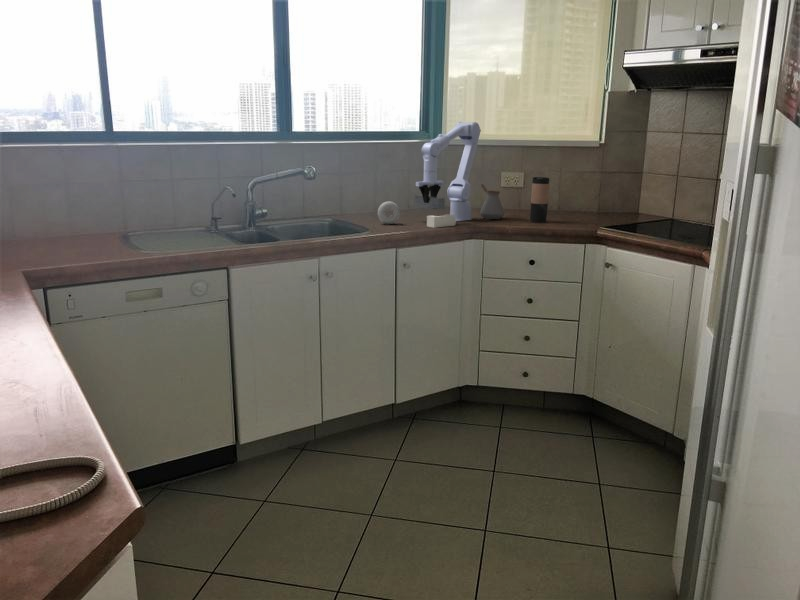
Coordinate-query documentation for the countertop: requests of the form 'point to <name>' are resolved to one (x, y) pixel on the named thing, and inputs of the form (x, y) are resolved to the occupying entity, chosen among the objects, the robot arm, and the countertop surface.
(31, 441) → the countertop surface
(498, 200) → the coffee pot
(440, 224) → the cream u-shaped cradle
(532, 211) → the travel mug
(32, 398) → the countertop surface
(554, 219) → the countertop surface
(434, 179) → the robot arm
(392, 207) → the donut
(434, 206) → the rail
